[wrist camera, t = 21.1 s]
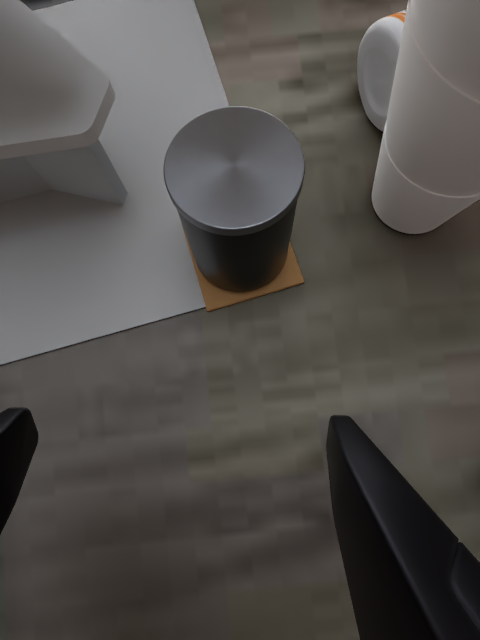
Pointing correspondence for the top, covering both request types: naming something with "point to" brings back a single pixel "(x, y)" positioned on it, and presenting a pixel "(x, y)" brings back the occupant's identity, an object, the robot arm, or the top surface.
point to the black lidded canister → (236, 193)
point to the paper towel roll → (432, 119)
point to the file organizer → (94, 167)
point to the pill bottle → (379, 66)
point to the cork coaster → (223, 298)
